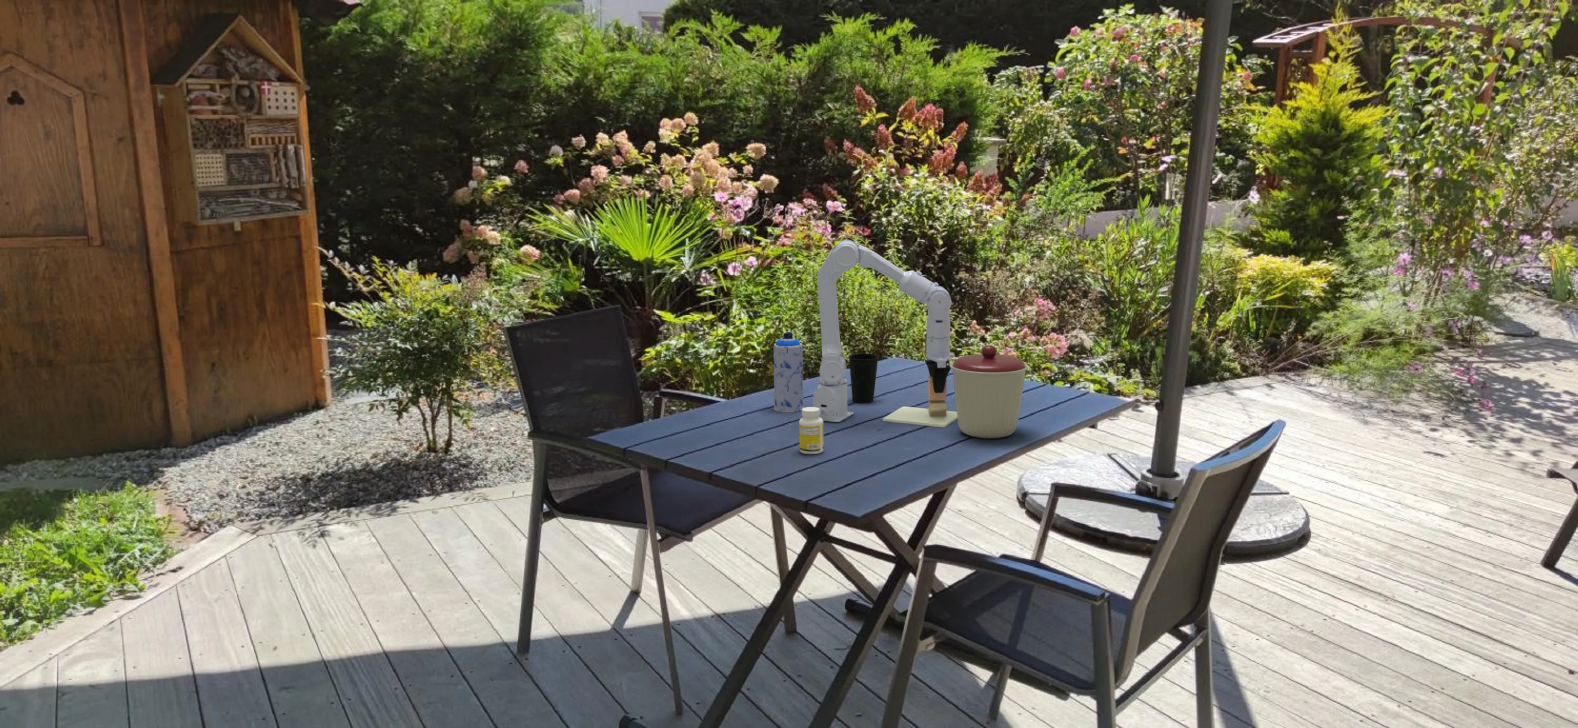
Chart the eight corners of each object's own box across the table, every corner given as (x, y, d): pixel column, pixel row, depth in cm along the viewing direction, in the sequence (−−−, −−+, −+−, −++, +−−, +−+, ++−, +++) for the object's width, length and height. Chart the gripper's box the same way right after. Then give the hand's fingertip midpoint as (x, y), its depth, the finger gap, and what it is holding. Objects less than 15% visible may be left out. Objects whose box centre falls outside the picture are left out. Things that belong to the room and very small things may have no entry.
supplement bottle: (809, 446, 258) (809, 404, 256) (828, 450, 254) (828, 408, 252) (794, 452, 254) (794, 409, 252) (813, 456, 250) (813, 412, 248)
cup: (876, 404, 297) (877, 360, 295) (847, 403, 298) (847, 359, 296) (878, 397, 305) (878, 353, 302) (849, 396, 306) (850, 352, 303)
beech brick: (946, 416, 281) (946, 403, 280) (930, 416, 281) (930, 403, 280) (944, 412, 285) (944, 399, 284) (928, 412, 285) (928, 399, 284)
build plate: (944, 427, 273) (944, 425, 273) (882, 420, 280) (882, 418, 280) (962, 414, 285) (962, 412, 285) (903, 408, 292) (903, 406, 292)
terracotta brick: (946, 399, 280) (946, 379, 279) (929, 399, 280) (930, 380, 279) (943, 396, 284) (944, 376, 283) (928, 396, 284) (928, 376, 283)
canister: (1026, 445, 257) (1029, 353, 253) (946, 441, 260) (947, 351, 256) (1026, 425, 274) (1029, 339, 270) (951, 422, 278) (952, 337, 274)
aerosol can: (806, 411, 291) (805, 334, 287) (776, 413, 290) (774, 335, 286) (801, 404, 298) (800, 329, 294) (771, 406, 297) (770, 330, 293)
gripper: (958, 341, 272) (958, 396, 275) (950, 331, 286) (949, 384, 289) (929, 342, 272) (928, 397, 275) (922, 331, 286) (921, 384, 289)
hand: (937, 390), depth 282 cm, fingers closed on terracotta brick, 4 cm apart
